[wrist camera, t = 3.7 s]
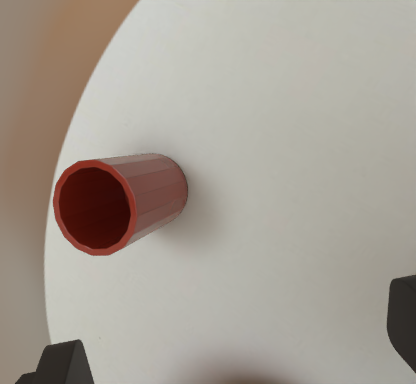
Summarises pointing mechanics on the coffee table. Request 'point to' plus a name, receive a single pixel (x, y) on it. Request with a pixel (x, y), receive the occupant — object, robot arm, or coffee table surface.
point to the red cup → (117, 200)
